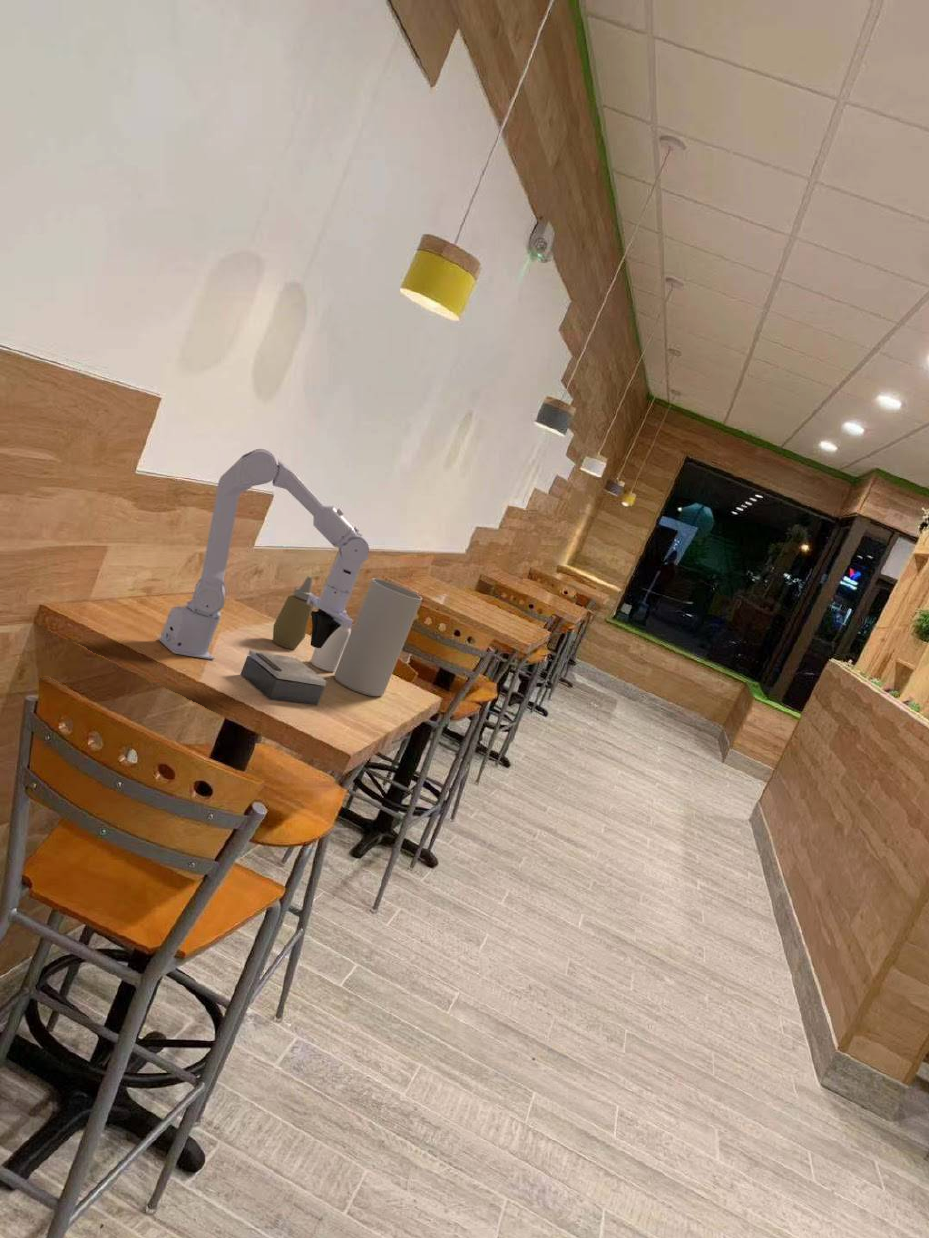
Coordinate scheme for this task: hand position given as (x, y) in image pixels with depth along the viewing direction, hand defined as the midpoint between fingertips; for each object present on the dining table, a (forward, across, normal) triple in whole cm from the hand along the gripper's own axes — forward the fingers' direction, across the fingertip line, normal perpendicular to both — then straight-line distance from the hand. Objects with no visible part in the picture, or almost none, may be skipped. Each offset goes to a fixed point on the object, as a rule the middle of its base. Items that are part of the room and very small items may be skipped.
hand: (315, 646), depth 195 cm
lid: (+5, -4, +8) cm, 10 cm away
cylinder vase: (+10, +6, -21) cm, 24 cm away
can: (+10, +16, -17) cm, 25 cm away
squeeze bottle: (+10, +28, -13) cm, 32 cm away
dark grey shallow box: (+9, -4, +8) cm, 13 cm away
